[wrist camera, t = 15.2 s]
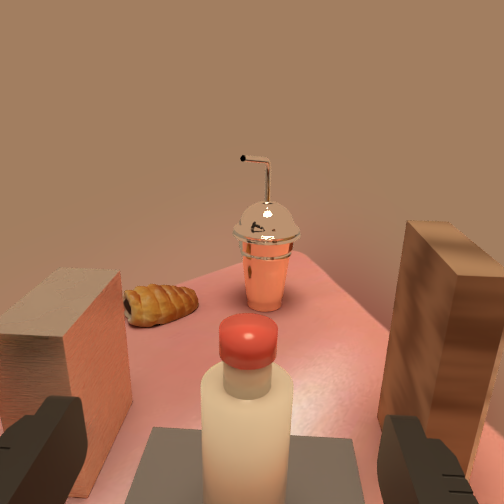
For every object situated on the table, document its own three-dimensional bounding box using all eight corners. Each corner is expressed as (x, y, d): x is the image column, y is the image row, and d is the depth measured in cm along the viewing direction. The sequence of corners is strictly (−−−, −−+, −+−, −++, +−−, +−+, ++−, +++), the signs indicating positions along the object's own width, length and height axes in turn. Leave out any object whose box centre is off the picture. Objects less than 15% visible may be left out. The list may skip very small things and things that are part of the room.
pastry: (187, 294, 61) (186, 269, 59) (207, 316, 55) (207, 289, 54) (118, 310, 56) (116, 283, 55) (133, 335, 51) (131, 306, 50)
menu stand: (462, 524, 29) (528, 278, 23) (407, 520, 30) (457, 275, 23) (418, 418, 39) (456, 222, 32) (377, 415, 39) (406, 220, 32)
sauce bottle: (187, 525, 28) (179, 325, 23) (245, 480, 31) (250, 296, 26) (241, 587, 24) (246, 369, 19) (299, 529, 28) (317, 329, 23)
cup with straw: (309, 310, 57) (320, 153, 50) (247, 326, 53) (250, 158, 45) (274, 285, 64) (280, 144, 57) (217, 297, 60) (216, 147, 52)
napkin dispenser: (87, 498, 31) (62, 336, 26) (17, 493, 31) (-20, 332, 26) (132, 401, 40) (120, 270, 35) (78, 398, 40) (59, 267, 36)
